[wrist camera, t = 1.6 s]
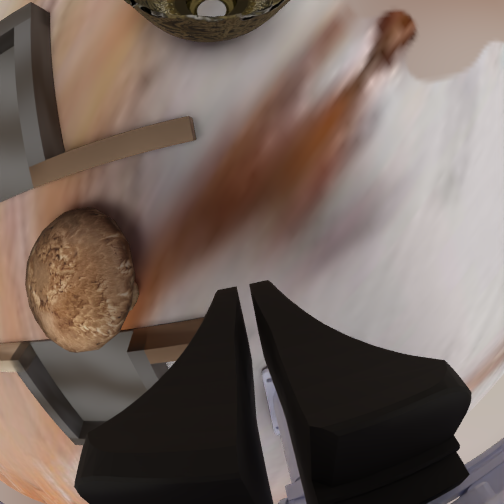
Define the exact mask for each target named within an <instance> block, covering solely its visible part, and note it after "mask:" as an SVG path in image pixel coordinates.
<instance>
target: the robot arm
mask: <svg viewBox="0 0 504 504" xmlns="http://www.w3.org/2000/svg"><path fill="white" fill-rule="evenodd" d="M249 285H250V290H251V295H252V301H253V306H254V311H255V316H256V321H257V327H258V332H259V336H260V341H261V346H262V350H263V354H264V358H265V361H266V364H267V367H268V368H267V369H265V370H263V371H262V378H263V383H264V387H265V392H266V397H267V401H268V406H269V410H270V415H271V419H272V424H273V429H274V433H275V435H280V436H281V440H282V444H283V448H284V452H285V457H286V461H287V465H288V469H289V473H290V477H291V482H292V483H291V484H289V485H286V486H285V488H286V493H287V498H284V499H282V500H280V501H279V503H278V504H447V503H448V502H450V501H452V500H454V499H456V498H457V497H459V496H460V495H461V496H460V497H459V499H457V500H456V501H454V502H453V503H451V504H504V438H503V439H501V440H500V441H499V442H497V443H496V444H494V445H493V446H492V447H491V448H489V449H487V450H486V451H485V452H483V453H482V454H480V455H479V456H477V457H476V458H474V459H473V460H471V461H470V462H468V463H467V464H465V465H464V464H463V462H462V460H461V459H460V457H459V455H458V454H457V452H456V451H458V450H459V448H460V445H459V443H458V441H457V440H456V438H455V436H454V434H455V432H456V430H457V428H458V427H459V425H460V424H461V422H462V420H463V418H464V416H465V415H466V413H467V410H468V408H469V406H470V402H471V391H470V390H469V388H468V387H467V386H466V384H465V383H464V382H463V381H462V379H461V378H460V377H459V375H458V374H457V373H456V372H455V371H454V370H453V369H452V367H451V366H450V365H449V364H448V363H447V362H446V361H445V360H438V359H432V358H425V357H418V356H412V355H407V354H402V353H398V352H394V351H390V350H387V349H383V348H380V347H376V346H373V345H370V344H368V343H365V342H362V341H360V340H357V339H354V338H352V337H349V336H347V335H345V334H343V333H341V332H339V331H337V330H335V329H333V328H331V327H329V326H327V325H325V324H323V323H322V322H320V321H318V320H317V319H315V318H314V317H312V316H311V315H309V314H308V313H306V312H305V311H304V310H302V309H301V308H300V307H298V306H297V305H296V304H295V303H293V302H292V301H291V300H290V299H288V298H287V297H286V296H285V295H284V294H283V293H282V292H280V291H279V290H278V289H277V288H276V287H275V286H274V285H273V284H272V283H271V282H270V281H268V280H267V281H262V282H257V283H252V284H249ZM268 378H270V379H268ZM74 487H75V489H76V490H77V492H78V493H79V495H80V496H81V497H82V498H83V499H84V500H86V501H87V502H88V503H89V504H273V500H272V495H271V491H270V486H269V482H268V477H267V472H266V467H265V462H264V457H263V452H262V447H261V442H260V437H259V432H258V426H257V419H256V408H255V395H254V381H253V368H252V358H251V353H250V348H249V342H248V337H247V332H246V328H245V323H244V319H243V314H242V310H241V305H240V301H239V296H238V291H237V287H232V288H226V289H221V290H218V291H217V292H216V294H215V296H214V299H213V301H212V303H211V305H210V307H209V309H208V312H207V314H206V315H205V317H204V319H203V321H202V323H201V325H200V327H199V328H198V330H197V332H196V333H195V335H194V336H193V338H192V339H191V341H190V343H189V344H188V346H187V347H186V348H185V350H184V351H183V353H182V354H181V355H180V357H179V358H178V359H177V360H176V362H175V363H174V364H173V365H172V366H171V368H170V369H169V370H168V371H167V372H166V373H165V374H164V375H163V376H162V377H161V378H160V379H159V380H158V381H157V382H156V383H155V384H154V385H153V386H152V387H151V388H150V389H149V390H147V391H146V392H145V393H144V394H143V395H142V396H141V397H139V398H138V399H137V400H136V401H134V402H133V403H132V404H131V405H129V406H128V407H127V408H125V409H124V410H123V411H121V412H120V413H119V414H117V415H115V416H114V417H112V418H111V419H109V420H108V421H106V422H105V423H103V424H102V425H100V426H98V427H97V428H95V429H94V430H92V431H90V432H88V433H87V436H86V439H85V442H84V445H83V449H82V453H81V457H80V461H79V465H78V470H77V474H76V479H75V486H74ZM0 504H3V503H2V502H1V501H0Z"/></svg>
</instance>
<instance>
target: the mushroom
mask: <svg viewBox="0 0 504 504" xmlns="http://www.w3.org/2000/svg"><path fill="white" fill-rule="evenodd" d="M134 279H135V272H134V268H133V263H132V258H131V253H130V247H129V243H128V241H127V240H126V238H125V237H124V235H123V233H122V232H121V230H120V229H119V227H118V226H117V224H116V222H115V221H114V220H113V219H111V218H110V217H108V216H106V215H104V214H103V213H101V212H100V211H98V210H96V209H94V208H83V209H76V210H71V211H68V212H65V213H63V214H62V215H60V216H59V217H58V218H56V219H55V220H54V221H53V222H52V223H51V224H50V225H49V226H48V227H46V228H45V229H44V230H43V231H42V233H41V235H40V236H39V238H38V239H37V241H36V243H35V245H34V246H33V248H32V251H31V253H30V256H29V259H28V262H27V269H26V282H25V286H26V291H27V297H28V302H29V306H30V309H31V311H32V313H33V315H34V318H35V320H36V321H37V323H38V324H39V326H40V327H41V329H42V330H43V332H44V333H45V335H46V336H47V337H48V338H49V339H50V340H51V341H53V342H54V343H56V344H57V345H59V346H60V347H62V348H63V349H65V350H67V351H69V352H74V353H78V352H85V351H92V350H99V349H100V348H101V347H103V346H104V345H105V344H106V343H107V342H109V341H110V340H111V339H112V338H114V337H115V336H116V335H117V334H119V332H120V330H121V327H122V325H123V323H124V321H125V319H126V316H127V314H128V312H129V311H130V310H132V309H133V307H134V305H135V304H136V302H137V299H138V296H139V291H138V286H137V284H136V283H135V282H134Z"/></svg>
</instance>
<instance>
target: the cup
mask: <svg viewBox="0 0 504 504" xmlns="http://www.w3.org/2000/svg"><path fill="white" fill-rule="evenodd" d="M124 1H125V2H127V3H128V4H130V5H131V6H132V7H133V8H134V9H136V10H137V11H138V12H139V13H140V14H141V15H143V16H144V17H145V18H146V19H147V20H149V21H150V22H151V23H153V24H154V25H155V26H157V27H158V28H160V29H162V30H163V31H165V32H167V33H169V34H171V35H173V36H176V37H179V38H182V39H186V40H191V41H197V42H216V41H223V40H229V39H232V38H236V37H238V36H241V35H244V34H246V33H248V32H250V31H252V30H254V29H256V28H257V27H259V26H261V25H262V24H263V23H265V22H266V21H268V20H269V19H270V18H271V17H272V16H274V15H275V14H276V13H277V12H278V11H279V10H280V9H281V8H282V7H283V6H285V5H286V4H287V3H288V2H289V1H290V0H220V1H222V2H223V3H224V4H225V5H226V9H227V10H226V14H225V16H216V17H208V16H198V15H197V7H198V5H199V4H200V3H201V2H203V1H204V0H124Z"/></svg>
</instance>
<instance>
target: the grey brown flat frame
mask: <svg viewBox="0 0 504 504" xmlns="http://www.w3.org/2000/svg"><path fill="white" fill-rule="evenodd" d="M194 140H196V135H195V130H194V124H193V119H192V118H191V117H189V116H186V117H182V118H177V119H173V120H169V121H165V122H161V123H157V124H153V125H149V126H145V127H142V128H138V129H135V130H131V131H128V132H124V133H121V134H118V135H114V136H111V137H108V138H105V139H102V140H99V141H96V142H93V143H90V144H87V145H84V146H81V147H79V148H76V149H73V150H70V151H68V152H65V151H64V146H63V141H62V135H61V130H60V124H59V118H58V112H57V105H56V98H55V90H54V82H53V72H52V61H51V45H50V13H49V12H47V11H45V10H44V9H42V8H40V7H39V6H37V5H35V4H34V3H32V2H30V3H29V4H27V5H25V6H24V7H22V8H20V9H19V10H17V11H15V12H14V13H12V14H11V15H9V16H7V17H6V18H4V19H3V20H1V21H0V202H2V201H4V200H7V199H9V198H11V197H14V196H16V195H18V194H21V193H23V192H25V191H28V190H30V189H33V188H37V187H39V186H42V185H44V184H47V183H50V182H52V181H55V180H58V179H60V178H63V177H66V176H69V175H72V174H75V173H77V172H80V171H83V170H86V169H89V168H93V167H96V166H99V165H102V164H105V163H109V162H112V161H115V160H119V159H122V158H126V157H129V156H133V155H136V154H140V153H144V152H148V151H152V150H155V149H159V148H164V147H168V146H172V145H176V144H181V143H185V142H190V141H194ZM203 319H204V318H199V319H193V320H188V321H182V322H176V323H170V324H163V325H157V326H151V327H144V328H137V329H131V330H124V331H120V332H119V334H117V335H116V336H115V337H114V338H112V339H111V340H110V341H109V342H107V343H106V344H105V345H104V346H103V347H101V348H100V349H99V350H92V351H85V352H78V353H74V352H69V351H67V350H65V349H63V348H62V347H60V346H59V345H57V344H56V343H54V342H53V341H51V340H50V339H49V340H39V341H28V342H15V343H2V344H0V372H17V373H18V375H19V376H20V377H21V379H22V380H23V382H24V383H25V385H26V386H27V387H28V389H29V390H30V391H31V393H32V394H33V395H34V397H35V398H36V399H37V401H38V402H39V403H40V404H41V406H42V407H43V408H44V409H45V411H46V412H47V413H48V414H49V416H50V417H51V418H52V419H53V420H54V422H55V423H56V424H57V425H58V426H59V427H60V428H61V430H62V431H63V432H64V433H65V434H66V435H67V436H68V437H69V438H70V439H71V441H72V442H73V443H74V444H75V445H84V442H85V439H86V436H87V433H88V432H90V431H92V430H94V429H95V428H97V427H98V426H100V425H102V424H103V423H105V422H106V421H108V420H109V419H111V418H112V417H114V416H115V415H117V414H119V413H120V412H121V411H123V410H124V409H125V408H127V407H128V406H129V405H131V404H132V403H133V402H134V401H136V400H137V399H138V398H139V397H141V396H142V395H143V394H144V393H145V392H146V391H147V390H149V389H150V388H151V387H152V386H153V385H154V384H155V383H156V382H157V381H158V380H159V379H160V378H161V377H162V376H163V375H164V374H165V373H166V372H167V371H168V368H167V365H166V363H165V362H170V361H176V360H177V359H178V358H179V357H180V355H181V354H182V353H183V351H184V350H185V348H186V347H187V346H188V344H189V343H190V341H191V339H192V338H193V336H194V335H195V333H196V332H197V330H198V328H199V327H200V325H201V323H202V321H203Z"/></svg>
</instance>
